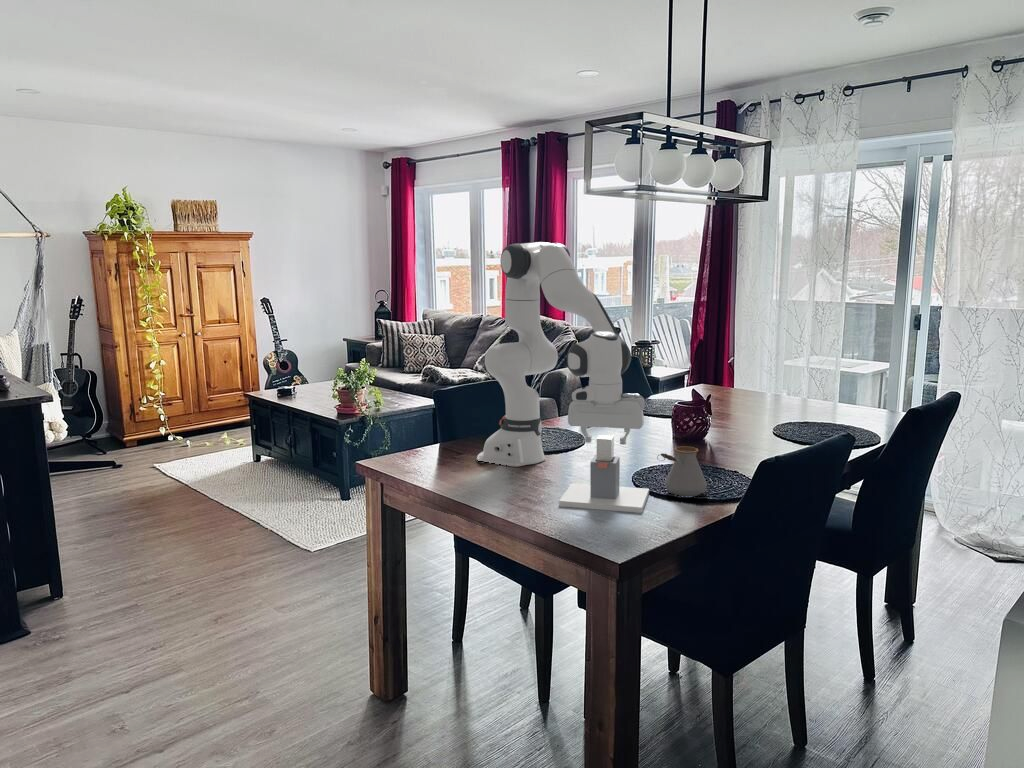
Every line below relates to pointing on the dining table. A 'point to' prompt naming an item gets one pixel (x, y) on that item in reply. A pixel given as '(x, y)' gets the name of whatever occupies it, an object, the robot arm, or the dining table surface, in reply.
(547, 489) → the dining table surface
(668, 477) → the coffee pot
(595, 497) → the stand
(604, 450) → the column
